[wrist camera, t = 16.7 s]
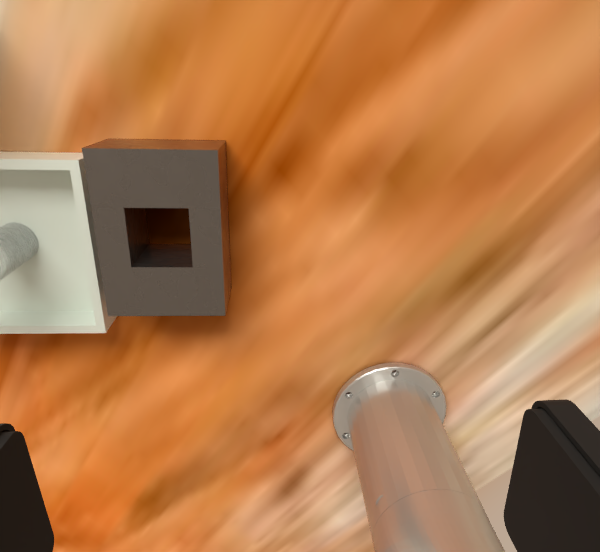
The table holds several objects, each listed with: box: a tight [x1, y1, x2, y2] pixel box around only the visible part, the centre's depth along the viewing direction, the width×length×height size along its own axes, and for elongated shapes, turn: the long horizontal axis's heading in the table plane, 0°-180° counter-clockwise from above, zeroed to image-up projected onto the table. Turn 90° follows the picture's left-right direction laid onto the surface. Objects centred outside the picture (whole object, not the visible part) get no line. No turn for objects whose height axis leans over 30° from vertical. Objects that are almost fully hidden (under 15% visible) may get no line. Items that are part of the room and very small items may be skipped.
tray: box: [0, 152, 117, 334], centre depth 41 cm, size 16×16×4 cm
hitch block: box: [82, 139, 231, 316], centre depth 40 cm, size 14×10×6 cm
